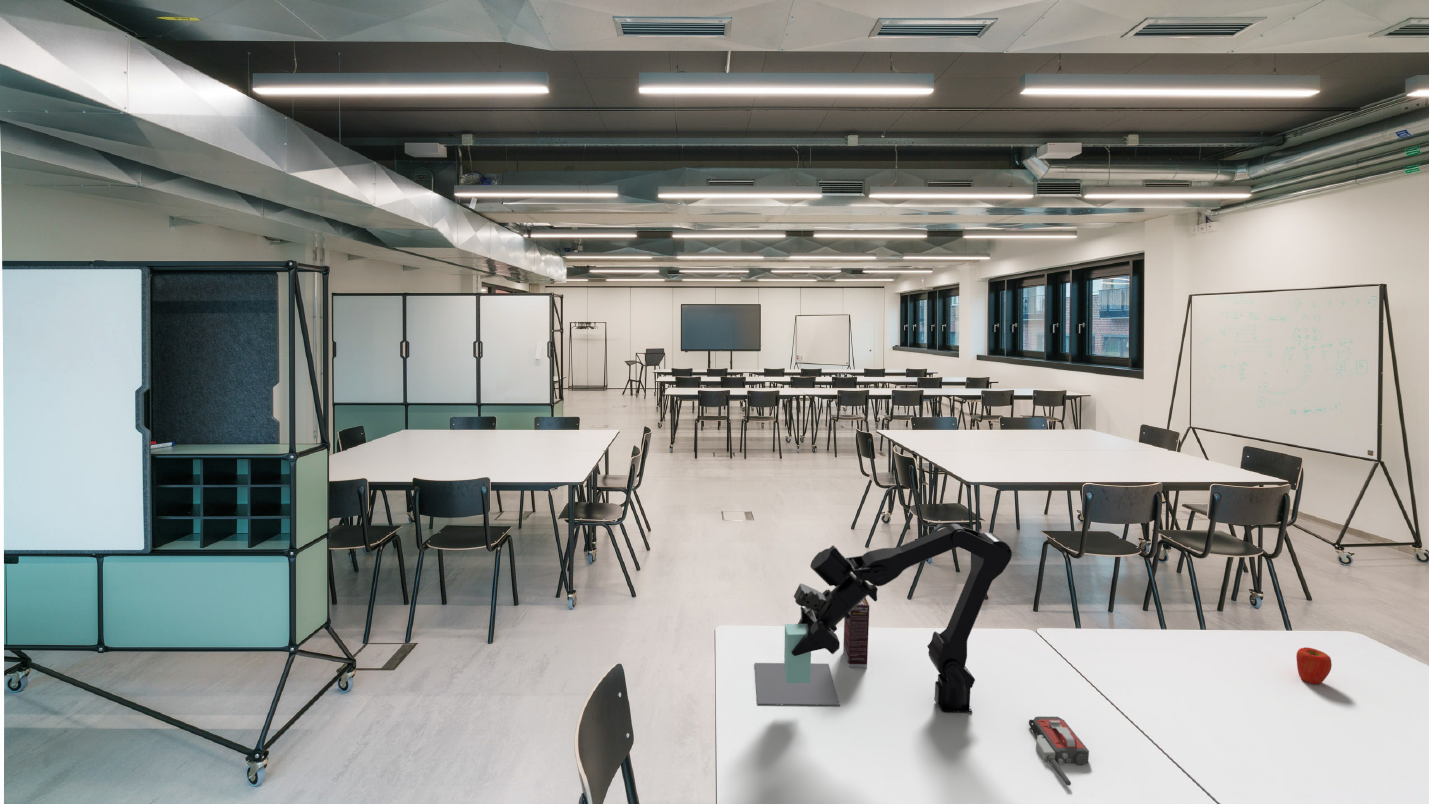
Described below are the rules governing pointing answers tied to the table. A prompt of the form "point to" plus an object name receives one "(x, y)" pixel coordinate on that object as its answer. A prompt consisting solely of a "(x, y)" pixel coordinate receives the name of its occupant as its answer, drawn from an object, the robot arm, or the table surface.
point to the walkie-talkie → (1058, 743)
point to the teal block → (797, 665)
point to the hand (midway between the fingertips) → (791, 648)
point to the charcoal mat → (794, 686)
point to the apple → (1313, 665)
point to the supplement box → (857, 635)
